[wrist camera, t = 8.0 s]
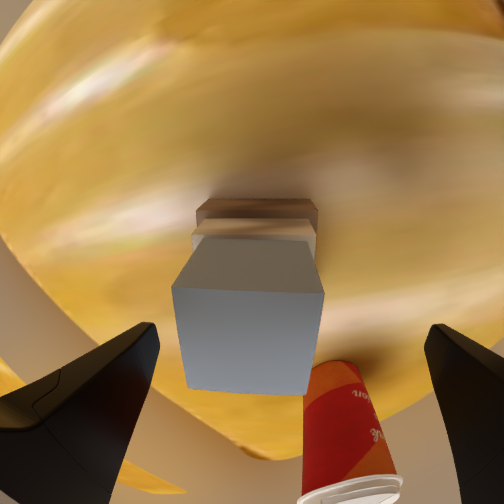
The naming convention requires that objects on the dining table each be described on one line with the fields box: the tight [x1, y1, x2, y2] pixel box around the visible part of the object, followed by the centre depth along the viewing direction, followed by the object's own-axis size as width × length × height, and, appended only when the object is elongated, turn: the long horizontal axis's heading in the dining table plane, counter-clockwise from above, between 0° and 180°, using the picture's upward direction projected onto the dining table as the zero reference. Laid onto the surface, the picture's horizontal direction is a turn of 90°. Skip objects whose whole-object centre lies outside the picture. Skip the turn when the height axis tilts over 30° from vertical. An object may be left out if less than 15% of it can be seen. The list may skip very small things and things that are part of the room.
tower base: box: [192, 199, 317, 263], centre depth 18 cm, size 7×7×6 cm
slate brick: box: [171, 238, 325, 395], centre depth 12 cm, size 5×5×5 cm
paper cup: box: [297, 361, 403, 504], centre depth 19 cm, size 8×8×14 cm
